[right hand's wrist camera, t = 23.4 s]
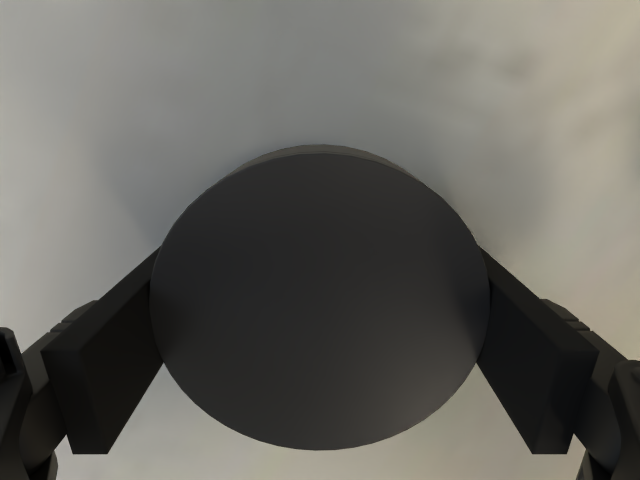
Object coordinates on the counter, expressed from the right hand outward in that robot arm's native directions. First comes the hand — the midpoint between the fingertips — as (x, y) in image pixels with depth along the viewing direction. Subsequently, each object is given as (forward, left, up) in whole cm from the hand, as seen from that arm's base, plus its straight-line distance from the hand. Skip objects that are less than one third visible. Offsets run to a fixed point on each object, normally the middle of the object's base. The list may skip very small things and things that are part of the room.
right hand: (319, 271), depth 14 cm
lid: (0, 0, +3) cm, 3 cm away
